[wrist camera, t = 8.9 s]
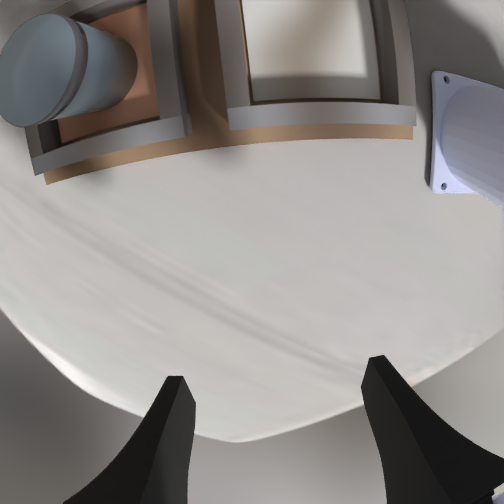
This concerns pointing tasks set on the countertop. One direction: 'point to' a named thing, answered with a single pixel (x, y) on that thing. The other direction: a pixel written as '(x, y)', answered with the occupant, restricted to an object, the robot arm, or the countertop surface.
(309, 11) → the caddy
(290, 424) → the countertop surface
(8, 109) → the grey plastic cylinder
